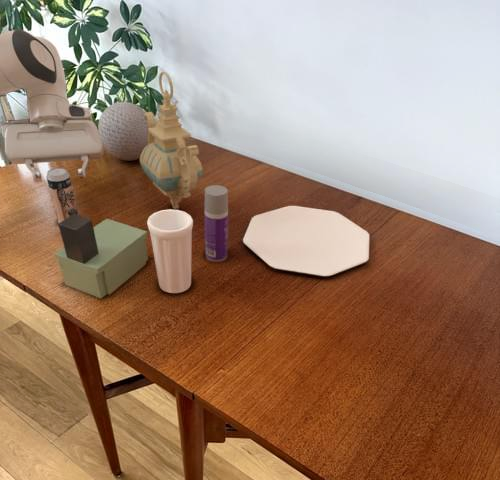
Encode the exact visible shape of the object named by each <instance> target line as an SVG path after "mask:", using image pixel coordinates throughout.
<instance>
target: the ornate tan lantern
mask: <svg viewBox="0 0 500 480" xmlns="http://www.w3.org/2000/svg"><path fill="white" fill-rule="evenodd" d="M163 75H165V76H166V79H167V81H168V84H169V91H170V92H169V91H168V90H167V89H165V90H164V87H163V83H162V82H163V81H162V79H163ZM158 85H159V90H160V93H161V95H162V98H163V99H162V100H161V102H162V104H159V103H156V105H157V109H159V113H156V116H157V117H158V120H156V117H155V114H154V113H153V111H147V112H146V111H145V112H146V113H144V114H145V115H144V120H148V122H149V129H148V131H149V134H148V145H147V146H146V147H145V148H144V150H143V151H142V153H141V155H140V158H139V164H140V166H141V169H142V171H143V172H144V174H145V175H146V176H147V177H148V178H149V179H150V180H151V181H152V184H153V185H154V186H155V187H156V188H157V189H158V190H159V191H160V192H161V193H162V194H163V195H164V196H167V197H168V198H169V202H170V204H171V206H172V208H173V210H177V209H180V204H179V203H181V202H182V199H186V198H190V197H191V196H192V194H191V192H190V191H193V190H195V189H196V187H197V184H198V182H199V180H200V179H201V177H202V175H203V172H204V171H203V170H204V169H203V165H202V162H201V161H200V159H199V158H198V157H197V156H198V155H199V153H200V150H199V146H198V145H197V144H194V145H187V144H186V140H187V139H189V138H191V136H192V134H191V133H190V132H188V131H187V130H186V129H184V128H183V127H182V125H183V124H182V123H181V122H179V119H180V118H181V116H179V115H178V114H177V112H178V107H177V106H176V105H177V104H178V103H179V100H175V101H174V103H171V100H172V99H173V96H174V85H173V82H172V79H171V76H170V75H169V74H168V72H166V71H161V72H160V74H159V76H158Z"/></svg>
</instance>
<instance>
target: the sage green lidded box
mask: <svg viewBox="0 0 500 480" xmlns="http://www.w3.org/2000/svg"><path fill="white" fill-rule="evenodd" d="M93 228H94V233H95V238H96V243H97V247H98V252H99V254H97V255H96V256H95V257H93V258H92V259H90V260H89V261H88V262H86V263H85V264H83V263H80V262H77V261H75V260H72V259H69V258H67V255H66V251H65V248H64V246H63V247H61V248H60V249H58V250H57V251H55V252H54V253H53V254H54V258H55V260H57V261H58V264H59V267H60V268H59V269H60V271H61V272H60V273H61V276H62V278H63V282H64V285H65V286H68V287H70V288H73V289H76V290H78V291H81V292H83V293H86V294H88V295H91V296H94V297H96V298H99V299H103V298H104V297H105V296H106V295H108V296H110V295H111V294H112V293H114V292H115V291H116V290H117V289H118V288H120V286H122V285H123V284H125V283H126V282H127V281H128V280H129V279H131V277H133V276H134V275H135V274H136V273H137V272H138V271H140V270H141V269H142V268H143V267H144V266H145V265H147V261H148V260H149V257H148V256H149V255H148V249H147V241H146V239H147V238H148V236H149V235H148V231H147V230H145V229H140V228H138V227H134V226H133V225H132V226H131V225H128V224H126V223H122V222H119V221H116V220H113V219H109V218H105V219H103V220H102V221H101V222H99V223H98V224H96V225H95V226H93Z"/></svg>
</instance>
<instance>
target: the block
mask: <svg viewBox="0 0 500 480" xmlns="http://www.w3.org/2000/svg"><path fill="white" fill-rule="evenodd" d="M93 227H94V224H93V220H92V219H90V218H87V217H85V216H81V215H75V214H73V215H72V216H70V217H68V218H67V219H65V220H64V221H62V222H60V223H58V228H59V233H60V236H61V240H62V243H63V244H62V245H63V247H64V248H65V251H66V255H67V258H69V259H72V260H75V261H77V262H80V263H83V264H85V263H86V262H88V261H89V260H90V259H92V258H93V257H95V256H96V255H97V254H99V252H98V247H97V243H96V238H95V233H94V228H93Z"/></svg>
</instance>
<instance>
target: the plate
mask: <svg viewBox="0 0 500 480" xmlns="http://www.w3.org/2000/svg"><path fill="white" fill-rule="evenodd" d="M370 237H371V236H370V233H369V231H367V230H365V229H364V228H363V227H361V226H359V225H358V224H356V223H355V222H353V221H351V220H350V219H349V218H347V217H346V216H344V215H343V214H341V213H339V212H337V211H334V210H327V209H319V208H312V207H307V206H306V207H305V206H299V205H288V206H284V207H279V208H276V209H274V210H269V211H266V212H263V213H260V214H255V215H254V216H252V217H251V219H250V222H249V223H248V226H247V229H246V231H245V234H244V236H243V238H242V242H243V244H244V246H246V247H247V248H248V249H249V250H250V251H251V252H253V253H254V254H255V255H256V256H257V257H258V258H259V259H260V260H262V262H264V263H265V264H266V265H267V266H268V267H270V268H271V269H274V270H279V271H284V272H285V271H286V272H291V273H295V274H297V273H298V274H302V275H303V274H304V275H309V276H316V277H322V278H326V277H332V276H334V275H338V274H340V273H342V272H345V271H348V270H350V269H353V268H356V267H358V266H361V265H363V264H366V263H367V262H368V261H369V259H370Z"/></svg>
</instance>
